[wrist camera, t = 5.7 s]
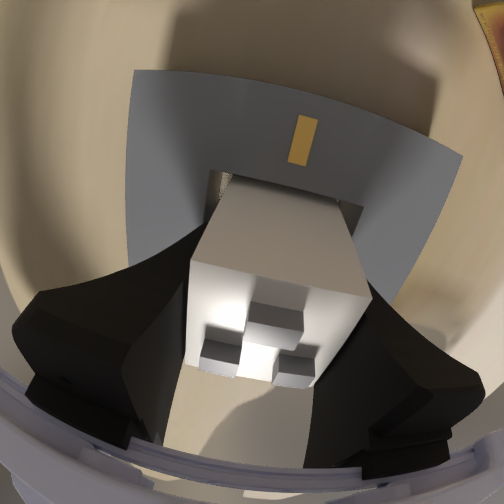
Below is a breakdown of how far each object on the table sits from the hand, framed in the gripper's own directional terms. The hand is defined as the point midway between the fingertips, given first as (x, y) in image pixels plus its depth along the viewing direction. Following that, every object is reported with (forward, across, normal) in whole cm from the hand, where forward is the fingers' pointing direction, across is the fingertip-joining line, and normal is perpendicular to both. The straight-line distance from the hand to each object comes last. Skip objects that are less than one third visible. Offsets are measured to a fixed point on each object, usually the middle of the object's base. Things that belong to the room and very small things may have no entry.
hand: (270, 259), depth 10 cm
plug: (+2, 0, 0) cm, 2 cm away
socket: (+3, 0, 0) cm, 3 cm away
